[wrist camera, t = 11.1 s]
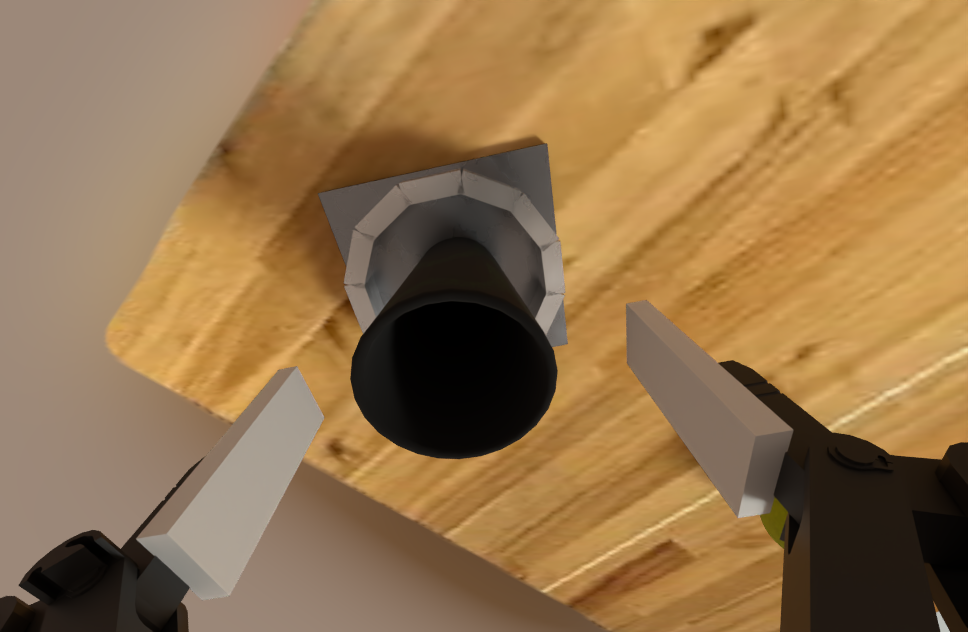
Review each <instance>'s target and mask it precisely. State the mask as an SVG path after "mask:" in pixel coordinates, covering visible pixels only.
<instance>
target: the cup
mask: <svg viewBox="0 0 968 632" xmlns="http://www.w3.org/2000/svg"><path fill="white" fill-rule="evenodd" d="M350 379H351V384H352V389H353V393H354V398H355V401H356V402H357V404H358V406H359V408H360V410H361V412H362V414H363V415H364V417H365V418H366V419H367V420H368V422H369V423H370V424H371V425H372V426H373V427H374V428H375V429H376V430H377V431H378V432H379V433H380V434H381V435H383V436H384V437H386V438H387V439H389V440H390V441H392V442H393V443H395V444H396V445H398V446H400V447H402V448H405V449H407V450H410V451H412V452H414V453H417V454H421V455H425V456H430V457H435V458H445V459H463V458H471V457H478V456H483V455H486V454H489V453H492V452H495V451H498V450H501V449H503V448H505V447H507V446H508V445H510V444H512V443H514V442H516V441H517V440H519V439H521V438H522V437H523V436H524V435H525V434H527V433H528V432H529V431H530V430H531V429H532V428H534V427H535V426H536V425H537V423H538V422H539V421H540V419H541V418H542V417H543V415H544V414H545V413H546V411H547V410H548V408H549V406H550V403H551V401H552V398H553V396H554V393H555V390H556V381H557V366H556V360H555V355H554V350H553V348H552V346H551V345H550V343H549V341H548V339H547V337H546V335H545V333H544V331H543V330H542V328H541V327H540V325H539V324H538V322H537V321H536V319H535V318H534V316H533V315H532V313H531V312H530V310H529V309H528V307H527V306H526V304H525V303H524V301H523V300H522V298H521V297H520V295H519V294H518V292H517V291H516V289H515V288H514V286H513V285H512V283H511V282H510V280H509V279H508V277H507V276H506V274H505V273H504V271H503V270H502V268H501V267H500V266H499V264H498V263H497V261H496V260H495V258H494V257H493V255H492V254H491V253H490V252H489V251H488V250H487V248H486V247H484V246H483V245H481V244H480V243H478V242H476V241H473V240H470V239H467V238H450V239H446V240H443V241H441V242H438V243H437V244H435V245H434V246H432V247H431V248H430V249H429V250H428V251H427V252H426V254H425V255H424V256H423V257H422V259H421V260H420V261H419V262H418V264H417V265H416V266H415V268H414V269H413V270H412V272H411V273H410V274H409V275H408V277H407V278H406V279H405V281H404V282H403V283H402V284H401V286H400V287H399V288H398V290H397V291H396V292H395V294H394V295H393V296H392V297H391V299H390V300H389V301H388V303H387V304H386V305H385V306H384V308H383V309H382V310H381V312H380V313H379V314H378V316H377V317H376V318H375V319H374V321H373V322H372V323H371V325H370V326H369V327H368V328H367V330H366V331H365V332H364V334H363V335H362V336H361V338H360V340H359V343H358V345H357V348H356V350H355V352H354V355H353V357H352V366H351V378H350Z"/></svg>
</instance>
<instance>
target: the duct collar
mask: <svg viewBox="0 0 968 632" xmlns="http://www.w3.org/2000/svg"><path fill="white" fill-rule="evenodd" d="M318 195H319V198H320V200H321V203H322V206H323V208H324V211H325V213H326V216H327V218H328V221H329V223H330V226H331V229H332V231H333V234H334V236H335V239H336V241H337V244H338V247H339V249H340V252H341V254H342V257H343V259H344V262H345V264H346V267H347V268H346V273H345V279H344V284H345V286H344V287H345V290H346V292H347V295H348V297H349V300H350V302H351V305H352V307H353V310H354V312H355V315H356V317H357V320H358V322H359V325H360V327H361V330H362V332H363V334H364V332H365V331H366V330H367V328H368V327H369V326H370V325H371V323H372V322H373V321H374V319H375V318H376V317H377V316H378V314H379V313H380V312H381V310H382V309H383V308H384V306H385V305H386V304H387V303H388V301H389V300H390V299H391V297H392V296H393V295H394V294H395V292H396V291H397V290H398V288H399V287H400V286H401V284H402V283H403V282H404V281H405V279H406V278H407V277H408V275H409V274H410V273H411V272H412V270H413V269H414V268H415V266H416V265H417V264H418V262H419V261H420V260H421V259H422V257H423V256H424V255H425V254H426V252H427V251H428V250H429V249H430V248H431V247H432V246H434V245H435V244H437V243H438V242H441V241H443V240H446V239H450V238H467V239H470V240H473V241H476V242H478V243H480V244H481V245H483V246H484V247H486V248H487V250H488V251H489V252H490V253H491V254H492V255H493V257H494V258H495V260H496V261H497V263H498V264H499V266H500V267H501V268H502V270H503V271H504V273H505V274H506V276H507V277H508V279H509V280H510V282H511V283H512V285H513V286H514V288H515V289H516V291H517V292H518V294H519V295H520V297H521V298H522V300H523V301H524V303H525V304H526V306H527V307H528V309H529V310H530V312H531V313H532V315H533V316H534V318H535V319H536V321H537V322H538V324H539V325H540V327H541V328H542V330H543V331H544V333H545V335H546V337H547V339H548V341H549V343H550V345H551V346H552V347H555V346H560V345H565V344H568V342H567V332H566V323H565V313H564V303H563V298H564V296H565V295H564V293H565V284H564V274H563V264H562V254H561V244H560V241H559V240H558V239H559V238H558V236H557V235H556V225H555V216H554V206H553V196H552V186H551V177H550V167H549V157H548V147H547V144H541V145H536V146H532V147H527V148H523V149H518V150H514V151H509V152H504V153H500V154H495V155H491V156H486V157H481V158H477V159H472V160H468V161H463V162H458V163H454V164H449V165H445V166H440V167H436V168H431V169H426V170H422V171H417V172H413V173H408V174H403V175H399V176H394V177H390V178H385V179H381V180H376V181H371V182H367V183H362V184H358V185H353V186H348V187H344V188H339V189H335V190H330V191H325V192H321V193H318Z"/></svg>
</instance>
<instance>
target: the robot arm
mask: <svg viewBox="0 0 968 632" xmlns="http://www.w3.org/2000/svg"><path fill="white" fill-rule="evenodd" d="M626 327H627V364H628V365H629V367H630V368H631V369H632V371H633V372H634V374H635V375H636V376H637V378H638V379H639V381H640V382H641V383H642V385H643V386H644V388H645V389H646V390H647V392H648V393H649V395H650V396H651V397H652V399H653V400H654V402H655V403H656V404H657V406H658V407H659V409H660V410H661V411H662V413H663V414H664V416H665V417H666V418H667V420H668V421H669V423H670V424H671V425H672V427H673V428H674V430H675V431H676V432H677V434H678V435H679V437H680V438H681V439H682V441H683V442H684V444H685V445H686V446H687V448H688V449H689V451H690V452H691V453H692V455H693V456H694V457H695V459H696V460H697V462H698V463H699V464H700V466H701V467H702V469H703V470H704V471H705V473H706V474H707V476H708V477H709V478H710V480H711V481H712V483H713V484H714V485H715V487H716V488H717V490H718V491H719V492H720V494H721V495H722V497H723V498H724V499H725V501H726V502H727V504H728V505H729V506H730V508H731V509H732V511H733V512H734V513H735V515H736V516H737V518H741V517H748V516H754V515H761V514H767V513H770V512H771V508H772V505H773V501H774V498H776V499H777V500H778V501H779V502H780V503H781V505H782V506H783V507H784V508H785V509H786V510H787V511H788V514H787V517H786V520H785V524H784V527H783V530H782V533H781V536H780V539H779V540H782V541H784V542H785V543H784V563H783V584H782V605H781V625H780V632H940V628H939V624H938V620H937V616H936V611H935V607H934V603H935V605H936V606H937V608H938V610H939V612H940V614H941V616H942V618H943V619H944V621H945V623H946V625H947V627H948V629H949V631H950V632H968V443H964V442H961V443H958V444H954V445H951V446H949V448H948V450H947V452H946V453H945V455H944V457H943V458H942V460H939V459H928V458H916V457H905V456H894V455H889V454H888V453H887V452H886V451H885V450H883V449H881V448H879V447H878V446H876V445H874V444H872V443H870V442H868V441H866V440H863V439H860V438H857V437H854V436H851V435H846V434H839V433H832V432H831V431H829V430H828V429H827V428H826V427H824V426H823V425H822V424H821V423H819V422H818V421H817V420H816V419H814V418H813V417H812V416H811V415H809V414H808V413H807V412H806V411H804V410H803V409H802V408H801V407H799V406H798V405H797V404H796V403H794V402H793V401H792V400H790V399H789V398H788V397H787V396H785V395H784V394H783V393H782V394H781V393H780V391H779V390H778V389H777V388H775V387H774V386H773V385H772V384H770V383H769V384H768V383H767V380H765V379H764V378H763V377H762V376H760V375H759V374H758V373H757V372H755V371H754V370H753V369H751V368H749V367H747V366H744V365H742V364H740V363H738V362H735V361H733V360H731V361H726V362H720V363H717V362H716V361H715V360H714V359H713V358H712V357H710V356H709V355H708V354H707V353H706V352H705V351H704V350H703V349H701V348H700V347H699V346H698V345H697V344H696V343H695V342H693V341H692V340H691V339H690V338H689V337H688V336H687V335H686V334H684V333H683V332H682V331H681V330H680V329H679V328H678V327H677V326H675V325H674V324H673V323H672V322H671V321H670V320H669V319H667V318H666V317H665V316H664V315H663V314H662V313H661V312H660V311H658V310H657V309H656V308H655V307H654V306H653V305H652V304H651V303H649V302H648V301H647V300H644V301H639V302H633V303H628V304H626ZM323 419H324V416H323V414H322V412H321V410H320V408H319V406H318V405H317V403H316V401H315V399H314V397H313V395H312V393H311V391H310V390H309V388H308V386H307V384H306V382H305V380H304V378H303V376H302V375H301V373H300V371H299V369H298V367H297V366H296V367H290V368H285V369H280V370H278V371H277V372H276V374H275V375H274V376H273V377H272V378H271V380H270V381H269V382H268V383H267V384H266V385H265V387H264V388H263V389H262V390H261V391H260V393H259V394H258V395H257V396H256V397H255V398H254V400H253V401H252V402H251V403H250V404H249V406H248V407H247V408H246V409H245V410H244V411H243V413H242V414H241V415H240V416H239V417H238V419H237V420H236V421H235V422H234V423H233V424H232V426H231V427H230V428H229V429H228V430H227V432H226V433H225V434H224V435H223V436H222V438H221V439H220V440H219V441H218V442H217V443H216V445H215V446H214V447H213V448H212V449H211V450H210V452H209V453H208V454H207V455H206V456H205V457H204V458H202V459H201V460H200V461H199V462H198V463H196V464H195V465H194V466H193V467H191V468H190V469H189V470H188V472H187V473H186V474H185V475H184V476H183V477H182V478H181V480H180V481H179V482H178V483H177V484H176V487H175V488H173V489H172V490H171V491H170V493H168V495H167V496H166V497H165V500H164V501H162V502H161V503H160V504H159V505H158V506H157V508H156V509H155V510H154V511H153V512H152V513H151V514H150V515H149V517H148V518H147V519H146V520H145V521H144V523H143V524H142V525H141V526H140V527H139V528H138V530H137V531H136V532H135V533H134V534H133V535H132V537H131V538H130V539H129V540H128V541H127V542H126V543H125V545H124V546H123V547H122V548H121V549H120V548H119V547H117V546H116V545H115V544H114V543H113V542H112V541H111V540H109V539H108V538H107V537H106V536H105V535H103V533H101V532H100V531H96V530H91V531H87V532H83V533H81V534H79V535H76V536H74V537H72V538H70V539H69V540H67V541H65V542H63V543H62V544H61V545H59V546H57V547H56V548H54V549H53V550H52V551H50V552H49V553H48V554H46V555H45V556H44V557H43V558H42V559H40V560H39V561H38V562H37V563H36V564H35V565H34V566H33V567H32V568H31V569H30V570H29V571H28V572H27V573H26V574H25V576H24V578H23V579H22V581H21V582H20V584H19V586H20V587H21V588H23V589H24V590H26V591H27V592H29V593H30V594H32V595H33V596H35V597H36V598H38V599H39V600H40V601H38V602H36V603H33V604H31V605H28V604H26V603H25V602H23V601H21V600H20V599H18V598H17V597H15V596H6V597H3V598H0V632H189V631H188V612H187V609H186V607H185V605H184V604H183V603H181V601H182V599H183V598H184V596H185V594H186V593H187V591H188V590H189V588H190V589H191V590H192V591H193V592H194V593H195V594H196V595H197V596H198V597H199V598H200V599H201V600H207V599H214V598H220V597H227V596H230V594H231V592H232V591H233V589H234V587H235V585H236V583H237V581H238V579H239V577H240V576H241V574H242V572H243V570H244V568H245V566H246V564H247V562H248V560H249V559H250V557H251V555H252V553H253V551H254V549H255V547H256V545H257V544H258V541H259V540H260V538H261V536H262V534H263V532H264V530H265V528H266V527H267V525H268V523H269V521H270V519H271V517H272V515H273V513H274V511H275V510H276V508H277V506H278V504H279V502H280V500H281V498H282V496H283V495H284V493H285V491H286V489H287V487H288V485H289V483H290V481H291V479H292V478H293V476H294V474H295V472H296V470H297V468H298V466H299V464H300V462H301V461H302V459H303V457H304V455H305V453H306V451H307V449H308V448H309V446H310V444H311V442H312V440H313V438H314V436H315V434H316V433H317V431H318V429H319V427H320V425H321V423H322V421H323ZM933 601H934V603H933Z"/></svg>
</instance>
